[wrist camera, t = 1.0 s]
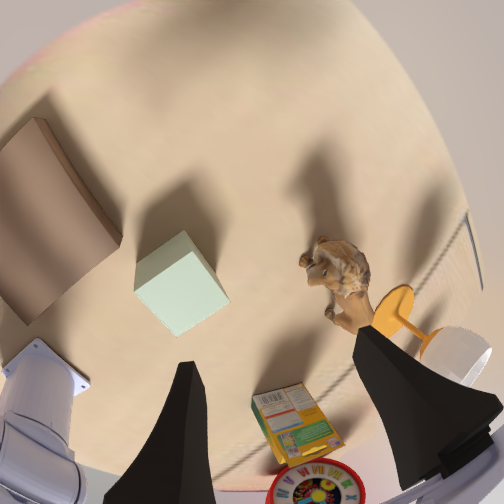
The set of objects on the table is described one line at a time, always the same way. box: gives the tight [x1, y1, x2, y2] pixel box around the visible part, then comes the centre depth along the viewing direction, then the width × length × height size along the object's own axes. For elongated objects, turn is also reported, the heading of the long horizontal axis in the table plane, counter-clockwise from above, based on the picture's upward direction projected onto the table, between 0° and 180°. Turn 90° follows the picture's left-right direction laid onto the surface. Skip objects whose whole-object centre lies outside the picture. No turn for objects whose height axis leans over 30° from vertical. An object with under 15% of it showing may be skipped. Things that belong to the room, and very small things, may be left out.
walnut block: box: [0, 117, 123, 326], centre depth 17 cm, size 12×12×3 cm
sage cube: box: [134, 230, 230, 337], centre depth 22 cm, size 5×5×5 cm
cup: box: [371, 286, 492, 387], centre depth 30 cm, size 9×9×16 cm
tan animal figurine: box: [299, 237, 374, 335], centre depth 25 cm, size 15×5×9 cm, turn 38°
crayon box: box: [252, 383, 345, 468], centre depth 29 cm, size 7×3×12 cm, turn 88°
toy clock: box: [265, 458, 366, 504], centre depth 39 cm, size 20×6×20 cm, turn 85°
